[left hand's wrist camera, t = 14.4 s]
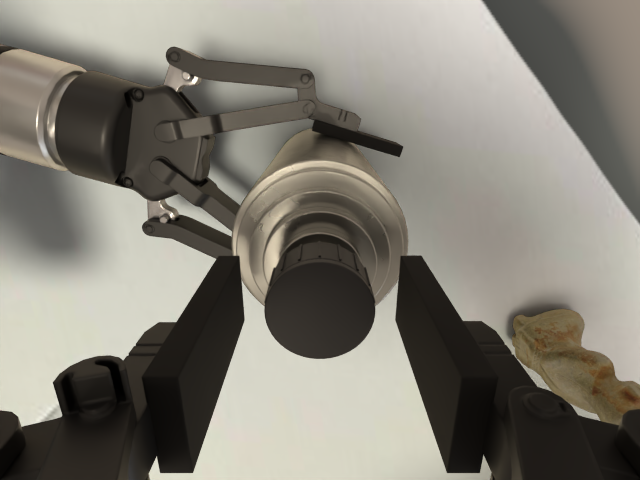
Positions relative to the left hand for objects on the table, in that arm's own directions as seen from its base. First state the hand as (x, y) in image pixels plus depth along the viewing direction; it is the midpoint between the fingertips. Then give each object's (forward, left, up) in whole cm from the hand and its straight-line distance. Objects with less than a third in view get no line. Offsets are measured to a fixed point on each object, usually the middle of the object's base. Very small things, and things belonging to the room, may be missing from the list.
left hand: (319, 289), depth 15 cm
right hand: (-4, -2, -16) cm, 17 cm away
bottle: (0, 0, -23) cm, 23 cm away
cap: (0, 0, +1) cm, 1 cm away
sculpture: (-28, -5, -23) cm, 36 cm away
